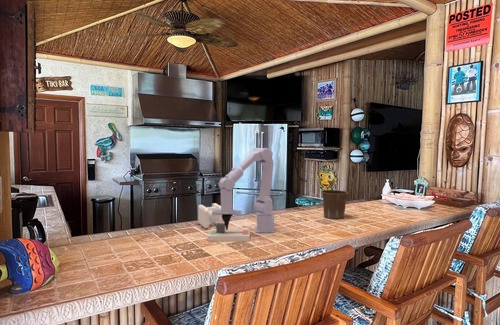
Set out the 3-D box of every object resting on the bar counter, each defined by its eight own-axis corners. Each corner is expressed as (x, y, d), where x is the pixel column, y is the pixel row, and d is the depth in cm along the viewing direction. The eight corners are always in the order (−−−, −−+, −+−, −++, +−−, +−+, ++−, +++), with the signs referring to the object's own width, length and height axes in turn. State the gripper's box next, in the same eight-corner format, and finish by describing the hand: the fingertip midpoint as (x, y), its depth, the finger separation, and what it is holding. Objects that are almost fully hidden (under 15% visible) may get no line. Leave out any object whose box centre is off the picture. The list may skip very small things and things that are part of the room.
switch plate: (250, 233, 162) (250, 229, 162) (249, 241, 150) (249, 236, 150) (211, 233, 162) (211, 229, 162) (207, 241, 150) (207, 235, 150)
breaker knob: (225, 230, 157) (225, 223, 157) (224, 232, 154) (224, 224, 154) (217, 230, 157) (217, 223, 157) (216, 232, 154) (216, 224, 154)
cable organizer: (223, 228, 174) (223, 207, 173) (204, 230, 169) (204, 208, 168) (214, 221, 187) (214, 202, 186) (197, 223, 183) (197, 204, 182)
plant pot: (350, 216, 200) (351, 191, 199) (343, 221, 186) (344, 194, 185) (325, 213, 209) (326, 189, 208) (317, 218, 195) (317, 192, 194)
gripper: (210, 203, 151) (211, 231, 152) (240, 203, 151) (241, 231, 152) (212, 201, 158) (213, 227, 159) (241, 201, 158) (241, 227, 159)
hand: (226, 229), depth 156 cm, fingers closed
